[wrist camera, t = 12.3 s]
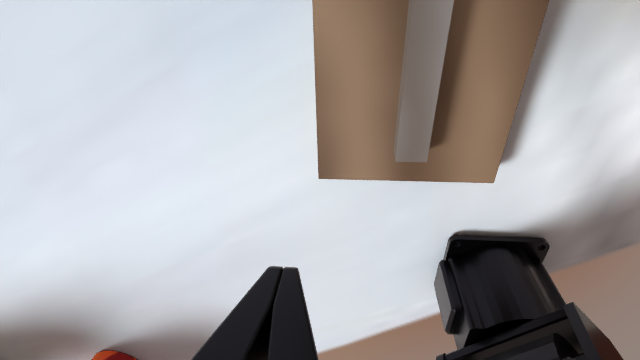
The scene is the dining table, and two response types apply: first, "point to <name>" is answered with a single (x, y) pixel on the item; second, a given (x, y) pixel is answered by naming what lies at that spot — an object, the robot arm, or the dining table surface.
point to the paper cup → (112, 356)
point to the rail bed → (419, 85)
